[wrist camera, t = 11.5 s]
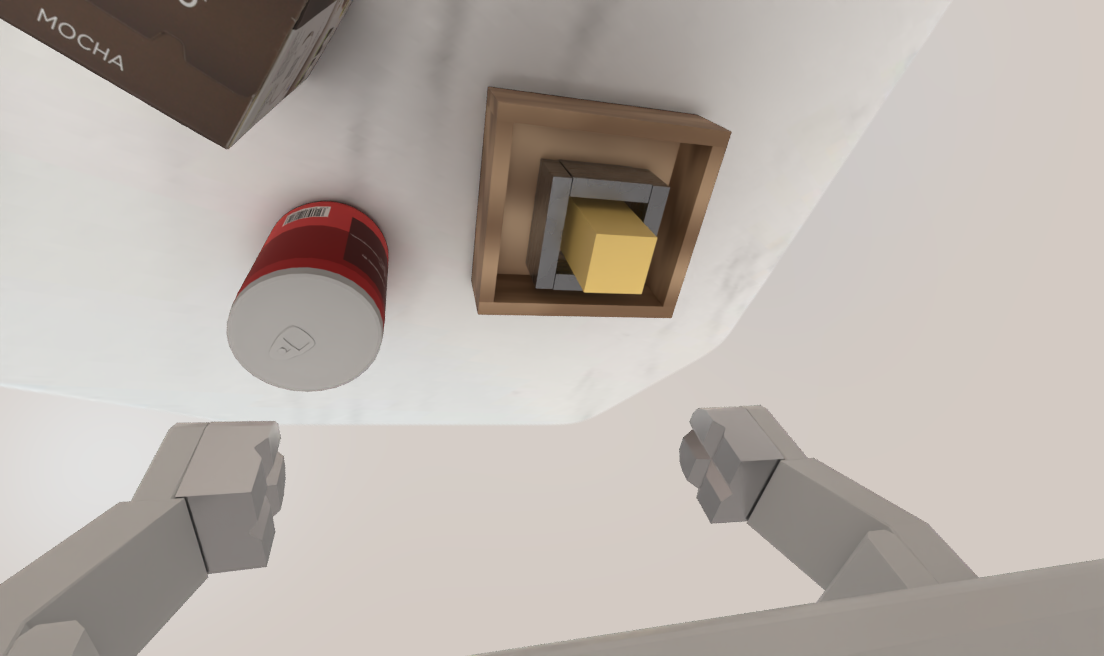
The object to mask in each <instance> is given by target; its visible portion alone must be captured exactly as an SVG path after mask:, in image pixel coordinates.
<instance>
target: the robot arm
mask: <svg viewBox="0 0 1104 656" xmlns="http://www.w3.org/2000/svg"><path fill="white" fill-rule="evenodd" d="M690 424H691V427H692V428H693V430H691V431H690V432H689V433H688V434H687V435H686V436H684V437H683V440H682V443H681V446H680V449H679V450H680V451H679V452H680V464H681V468H682V471H683V473H684V475H685V477H686V479H687V481H689V482H690V483H691V484H693V485H694V486H696V487H697V488H698V493H697V499H698V501H699V503H700V504H701V506H702V508H703V510H704V512H705V514H706V515H707V517H708V519H709V521H710V523H711V524H712V523H727V522H742V521H748V522H747V524H748V525H750V526H751V527H752V528H753V529H754V530H755V531H757V532H758V533H759V534H760V535H761V536H762V537H763V538H765V539H766V540H767V541H768V542H769V543H771V544H772V545H773V546H774V547H775V548H776V549H778V550H779V551H780V552H781V553H782V554H783V555H785V556H786V557H787V558H788V559H789V560H790V561H791V562H793V563H794V564H795V565H796V566H797V567H798V568H800V569H801V570H802V571H803V572H804V573H806V574H807V575H808V576H809V577H810V578H811V579H812V580H814V581H815V582H816V583H817V584H818V585H819V586H821V587H822V588H823V589H824V590H825V591H824V593H823V594H822V596H821V597H820V598H819V600H818V601H817V602H816V603H810V604H804V605H798V606H790V607H784V608H777V609H771V610H764V611H757V612H751V613H744V614H738V615H732V616H725V617H719V618H711V619H705V620H699V621H692V622H685V623H679V624H672V625H666V626H659V627H653V628H646V629H639V630H633V631H626V632H620V633H614V634H607V635H600V636H594V637H587V638H581V639H574V640H568V641H561V642H555V643H548V644H541V645H535V646H528V647H522V648H515V649H508V650H502V651H495V652H489V653H482V654H476V655H469V656H1104V559H1099V560H1092V561H1086V562H1079V563H1073V564H1066V565H1060V566H1053V567H1047V568H1040V569H1033V570H1027V571H1021V572H1014V573H1007V574H1001V575H994V576H987V577H981V578H979V577H978V576H977V575H976V574H975V573H974V572H973V571H972V570H971V569H970V568H969V567H968V566H967V565H966V564H965V562H963V560H962V559H961V558H960V557H959V556H958V555H957V554H956V553H955V552H954V551H953V550H952V549H951V548H950V547H949V545H947V543H946V542H945V541H944V540H943V539H942V538H941V537H940V536H939V535H938V534H937V533H936V532H935V531H934V529H932V527H931V526H930V525H929V524H928V523H926V522H924V521H922V520H921V519H919V518H917V517H916V516H914V515H912V514H910V513H909V512H907V511H905V510H903V509H902V508H900V507H898V506H897V505H895V504H893V503H891V502H890V501H888V500H886V499H884V498H883V497H881V496H879V495H877V494H875V493H874V492H872V491H870V490H869V489H867V488H865V487H863V486H861V485H860V484H858V483H857V482H855V481H853V480H851V479H849V478H848V477H846V476H844V475H843V474H841V473H839V472H837V471H836V470H834V469H832V468H830V467H829V466H827V465H825V464H824V463H822V462H820V461H818V460H816V459H815V458H807V457H806V455H805V454H804V453H803V452H802V451H801V449H800V448H799V447H798V446H797V444H796V443H795V442H794V441H793V440H792V438H791V437H790V436H789V435H788V434H787V432H786V431H785V430H784V429H783V428H782V427H781V425H780V424H779V423H778V421H777V420H776V419H775V418H774V417H773V415H772V414H771V413H770V412H769V411H768V410H767V409H766V408H765V407H763V406H761V405H754V406H739V407H714V408H698V409H697V410H696V411H695V412H694V413H693V414H692V417H691V419H690ZM280 439H281V435H280V430H279V425H278V423H277V422H276V421H242V422H211V423H176V424H175V425H174V426H172V427H171V428H170V429H169V430H168V432H167V434H166V436H165V438H164V440H163V442H162V443H161V446H160V447H159V449H158V451H157V453H156V455H155V457H154V459H153V460H152V462H151V464H150V466H149V468H148V470H147V472H146V474H145V475H144V478H143V479H142V481H141V483H140V485H139V487H138V489H137V490H136V493H135V494H134V496H133V498H132V500H131V501H129V502H119V503H118V504H116V505H115V506H113V507H112V508H110V509H109V510H107V511H106V512H105V513H103V514H102V515H100V516H99V517H97V518H96V519H94V520H93V521H91V522H90V523H89V524H87V525H86V526H85V527H83V528H82V529H80V530H78V531H77V532H76V533H74V534H73V535H71V536H70V537H68V538H67V539H66V540H64V541H63V542H61V543H60V544H58V545H57V546H55V547H54V548H53V549H51V550H50V551H48V552H47V553H45V554H44V555H42V556H41V557H39V558H38V559H36V560H35V561H34V562H32V563H31V564H30V565H28V566H26V567H25V568H23V569H22V570H21V571H19V572H18V573H16V574H15V575H13V576H12V577H10V578H9V579H7V580H6V581H5V582H3V583H2V584H0V656H137V654H138V653H139V652H140V651H141V650H142V649H143V648H144V647H145V646H146V645H147V644H148V642H149V641H150V640H151V639H152V638H153V637H154V636H155V635H156V634H157V633H158V631H159V630H160V629H161V628H162V627H163V626H164V625H165V624H166V623H167V622H168V620H169V619H170V618H171V617H172V616H173V615H174V614H175V613H176V612H177V611H178V609H180V607H181V606H182V605H183V604H184V603H185V602H186V601H187V600H188V599H189V597H191V595H192V594H193V593H194V592H195V591H196V590H197V589H198V588H199V587H200V586H201V584H202V583H203V582H204V581H205V580H206V579H207V578H208V574H212V573H220V572H228V571H236V570H245V569H253V568H261V567H267V563H268V559H269V555H270V551H271V547H272V543H273V539H274V534H275V528H274V522H273V516H274V515H275V514H277V512H279V511H280V509H281V505H282V501H283V496H284V487H285V463H284V456H283V455H281V454H280V453H279V452H278V447H279V443H280Z"/></svg>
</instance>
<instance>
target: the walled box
mask: <svg viewBox="0 0 1104 656" xmlns="http://www.w3.org/2000/svg"><path fill="white" fill-rule="evenodd" d="M730 135H731V131H729V130H727V129H725V128H723V127H721V126H719V125H717V124H715V123H713V122H711V121H709V120H707V119H705V118H703V117H701V116H699V115H695V114H688V113H681V112H673V111H666V110H658V109H651V108H644V107H636V106H629V105H621V104H614V103H606V102H599V101H592V100H584V99H577V98H569V97H562V96H554V95H547V94H540V93H532V92H525V91H517V90H510V89H502V88H495V87H488V91H487V103H486V115H485V126H484V138H483V150H482V161H481V173H480V185H479V196H478V208H477V220H476V231H475V243H474V255H473V266H472V278H471V282H472V287H473V292H474V297H475V302H476V307H477V312H478V314H482V315H536V316H590V317H643V318H672V315H673V312H674V309H675V305H676V302H677V299H678V296H679V293H680V290H681V287H682V284H683V281H684V278H685V275H686V271H687V268H688V265H689V262H690V259H691V256H692V253H693V250H694V247H695V244H696V240H697V237H698V234H699V231H700V228H701V225H702V222H703V219H704V216H705V213H706V210H707V206H708V203H709V200H710V197H711V194H712V191H713V188H714V185H715V182H716V179H717V175H718V172H719V169H720V166H721V163H722V160H723V157H724V154H725V151H726V148H727V145H728V141H729V138H730ZM541 158H543V159H552V160H558V161H559V159H562V160H571V161H581V162H591V163H601V164H611V165H621V166H631V167H633V168H642V169H649V170H650V171H651V172H652V173H654V174H655V175H656V176H657V177H658V178H660V179H661V180H662V181H663V182H665V183H666V184H667V185H668V186H669V187H670V190H669V194H668V198H667V201H666V205H665V208H664V212H663V215H662V219H661V223H660V226H659V230H658V233H657V241H656V245H655V248H654V252H653V255H652V259H651V263H650V266H649V270H648V273H647V277H646V280H645V284H644V288H643V291H642V294H619V293H586V292H583V291H577V290H553V289H539V288H535V286H534V283H533V281H532V278H531V276H530V273H529V271H528V268H527V266H526V256H527V249H528V242H529V235H530V228H531V221H532V214H533V207H534V200H535V193H536V186H537V179H538V173H539V166H540V159H541ZM624 202H625V201H624ZM559 251H561V249H560V250H559Z"/></svg>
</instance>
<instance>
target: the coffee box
mask: <svg viewBox="0 0 1104 656" xmlns="http://www.w3.org/2000/svg"><path fill="white" fill-rule="evenodd" d="M351 2H352V0H0V18H1V19H2V20H4V21H6V22H7V23H9V24H11V25H13V26H14V27H16V28H18V29H20V30H21V31H23V32H25V33H26V34H28V35H30V36H32V37H33V38H35V39H37V40H38V41H40V42H42V43H44V44H45V45H47V46H49V47H51V48H52V49H54V50H56V51H57V52H59V53H61V54H63V55H64V56H66V57H68V58H69V59H71V60H73V61H75V62H76V63H78V64H80V65H81V66H83V67H85V68H86V69H88V70H90V71H92V72H93V73H95V74H97V75H98V76H100V77H102V78H104V79H106V80H107V81H109V82H111V83H112V84H114V85H116V86H117V87H119V88H121V89H122V90H124V91H126V92H128V93H129V94H131V95H133V96H135V97H137V98H138V99H140V100H142V101H143V102H145V103H147V104H148V105H150V106H152V107H153V108H155V109H157V110H159V111H160V112H162V113H164V114H165V115H167V116H169V117H170V118H172V119H174V120H176V121H177V122H179V123H180V124H182V125H184V126H186V127H188V128H190V129H191V130H193V131H195V132H196V133H198V134H200V135H202V136H203V137H205V138H207V139H209V140H211V141H212V142H214V143H216V144H218V145H220V146H222V147H223V148H225V149H229V148H230V147H232V146H233V145H234V144H235V143H236V142H237V141H238V140H239V139H240V138H241V137H242V136H243V135H244V134H245V133H246V132H247V131H248V130H249V129H251V128H252V127H253V126H254V125H255V124H256V123H257V122H258V121H259V120H261V119H262V118H263V117H264V116H265V115H266V114H267V113H268V112H270V111H271V110H272V109H273V108H274V107H275V106H276V105H277V104H278V103H280V102H281V101H282V100H283V99H284V98H285V97H286V96H287V95H288V94H290V93H291V92H292V91H294V90H295V89H296V88H297V87H298V86H299V85H300V84H301V83H302V82H303V81H304V80H306V79H307V77H308V76H309V74H310V72H311V71H312V69H313V67H314V66H315V64H316V62H317V61H318V59H319V57H320V56H321V54H322V52H323V51H324V49H325V47H326V45H327V44H328V42H329V40H330V39H331V37H332V35H333V34H334V32H335V30H336V28H337V27H338V25H339V23H340V22H341V20H342V18H343V16H344V15H345V13H346V11H347V9H348V8H349V6H350V4H351Z"/></svg>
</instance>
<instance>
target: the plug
mask: <svg viewBox="0 0 1104 656" xmlns="http://www.w3.org/2000/svg"><path fill="white" fill-rule="evenodd" d="M656 241H657V237H656V236H655V235H654V233H653V232H652V231H651V230H650V229H649V228H648V227H647V226H646V225H645V224H644V223H643V222H642V221H641V220H640V218H639V217H638V216H637V215H636V214H635V213H634V212H633V211H632V210H631V209H630V208H629V207H628V206H627V204H626V203H625V202H624V201H619V200H606V199H594V198H582V197H570V196H569V200H568V205H567V211H566V217H565V222H564V228H563V233H562V239H561V245H560V249H561V251H562V253H563V255H564V257H565V259H566V260H567V262H568V264H569V266H570V268H571V270H572V271H573V273H574V275H575V277H576V279H577V281H578V282H579V284H580V286H581V288H582V290H583V292H586V293H619V294H642V291H643V288H644V284H645V280H646V277H647V273H648V270H649V266H650V263H651V259H652V255H653V252H654V248H655V245H656Z"/></svg>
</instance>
